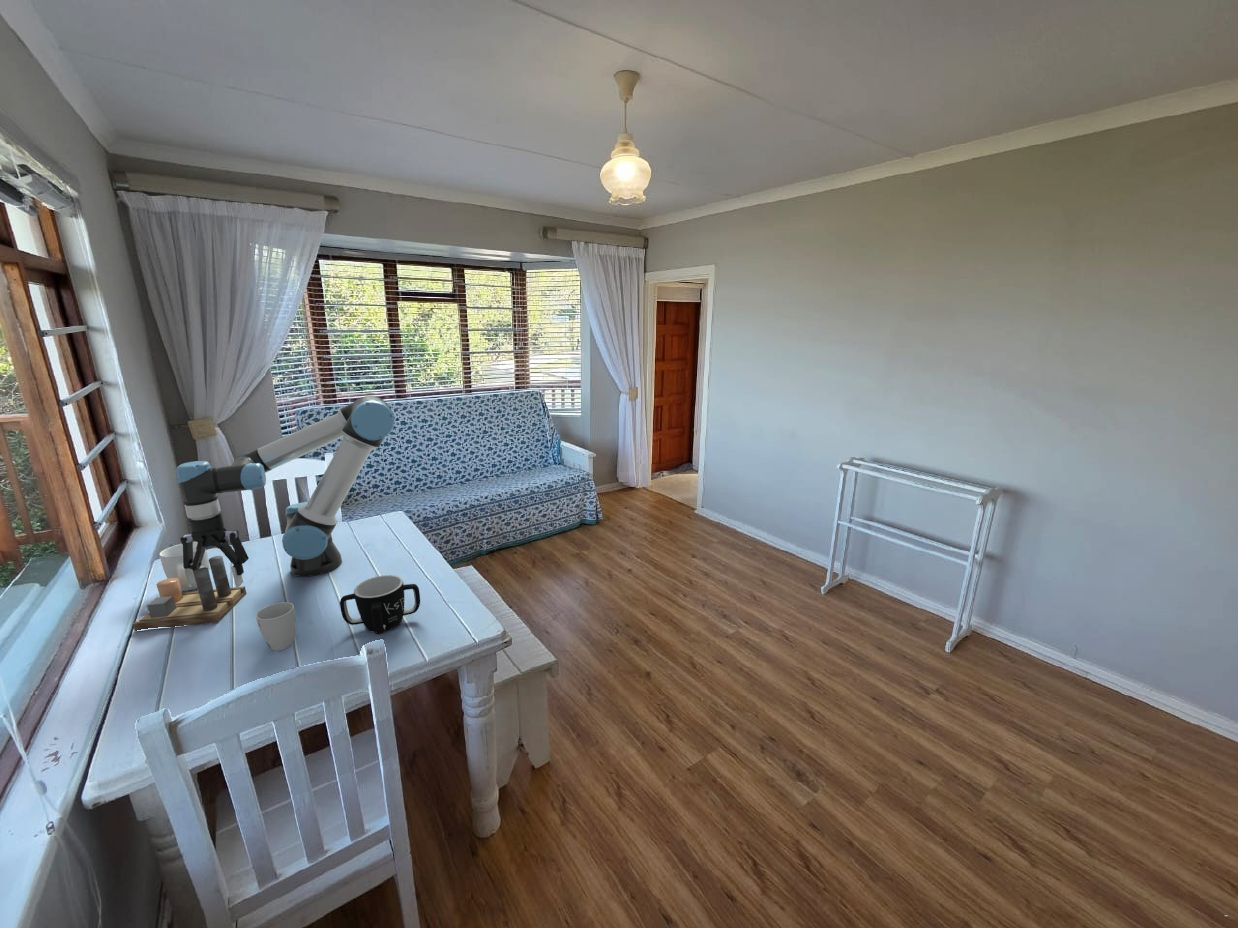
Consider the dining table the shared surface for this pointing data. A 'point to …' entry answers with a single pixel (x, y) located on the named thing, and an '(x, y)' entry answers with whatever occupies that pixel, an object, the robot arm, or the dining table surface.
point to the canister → (170, 588)
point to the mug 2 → (380, 603)
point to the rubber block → (161, 606)
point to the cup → (277, 625)
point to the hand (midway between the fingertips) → (222, 586)
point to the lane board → (191, 619)
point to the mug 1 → (181, 566)
